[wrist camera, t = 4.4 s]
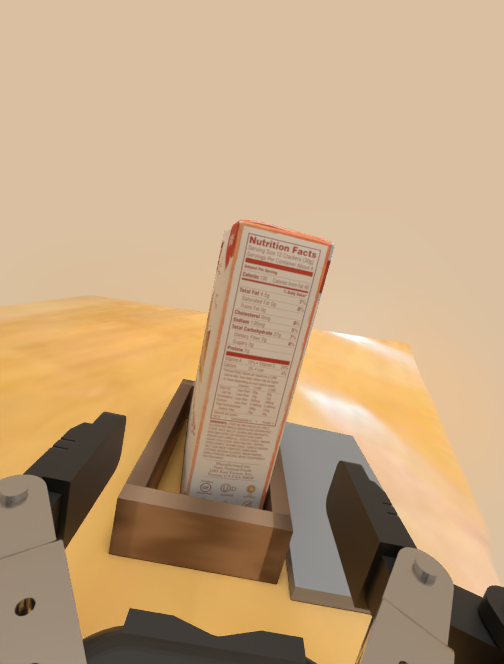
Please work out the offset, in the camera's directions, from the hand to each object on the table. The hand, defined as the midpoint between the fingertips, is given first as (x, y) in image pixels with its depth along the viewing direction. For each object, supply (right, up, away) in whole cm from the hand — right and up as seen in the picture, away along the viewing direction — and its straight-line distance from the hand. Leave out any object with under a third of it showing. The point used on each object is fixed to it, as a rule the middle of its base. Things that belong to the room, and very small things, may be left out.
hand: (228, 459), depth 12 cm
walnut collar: (-3, -8, +17) cm, 19 cm away
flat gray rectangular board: (+8, -10, +17) cm, 22 cm away
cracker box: (-3, -8, +17) cm, 19 cm away
